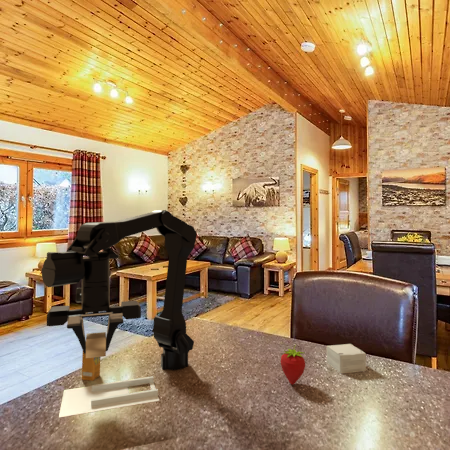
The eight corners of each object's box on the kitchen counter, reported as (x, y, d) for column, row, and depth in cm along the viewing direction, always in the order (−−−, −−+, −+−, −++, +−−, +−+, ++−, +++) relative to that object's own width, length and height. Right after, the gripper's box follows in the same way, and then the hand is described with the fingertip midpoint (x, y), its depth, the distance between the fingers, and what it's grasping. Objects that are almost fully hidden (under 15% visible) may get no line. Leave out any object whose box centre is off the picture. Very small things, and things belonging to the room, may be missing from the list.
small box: (350, 360, 103) (350, 343, 103) (366, 371, 96) (366, 353, 96) (325, 362, 102) (325, 345, 102) (340, 374, 94) (340, 355, 94)
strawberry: (298, 376, 92) (299, 338, 92) (309, 390, 85) (309, 349, 85) (276, 378, 91) (277, 339, 91) (285, 392, 84) (286, 350, 84)
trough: (151, 383, 88) (151, 372, 88) (159, 407, 77) (159, 395, 77) (64, 396, 82) (64, 384, 82) (58, 425, 70) (58, 411, 70)
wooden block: (105, 349, 80) (105, 332, 80) (105, 356, 76) (105, 337, 76) (86, 351, 78) (86, 333, 78) (85, 358, 75) (85, 339, 75)
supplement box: (93, 386, 86) (93, 346, 86) (81, 385, 87) (81, 345, 87) (101, 380, 90) (101, 341, 89) (89, 379, 90) (88, 340, 90)
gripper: (136, 273, 88) (136, 335, 88) (52, 277, 81) (53, 344, 82) (141, 280, 77) (141, 351, 77) (46, 285, 71) (46, 363, 71)
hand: (96, 351), depth 77 cm, fingers closed on wooden block, 4 cm apart
